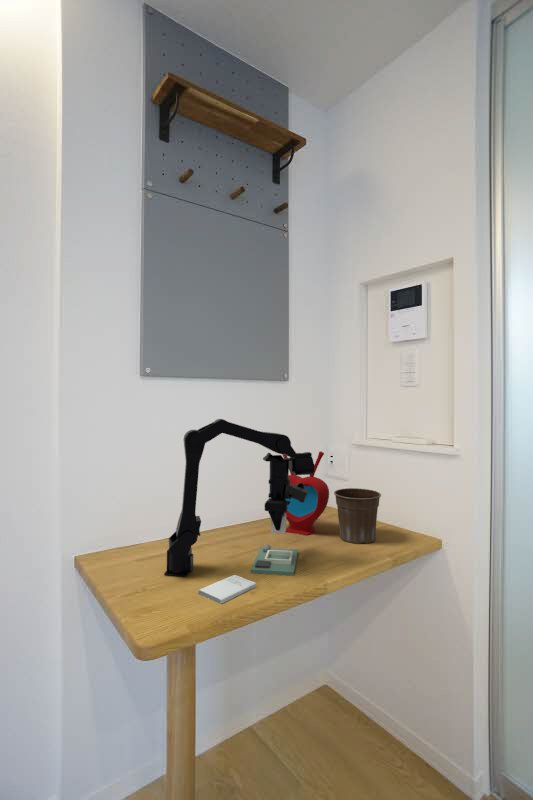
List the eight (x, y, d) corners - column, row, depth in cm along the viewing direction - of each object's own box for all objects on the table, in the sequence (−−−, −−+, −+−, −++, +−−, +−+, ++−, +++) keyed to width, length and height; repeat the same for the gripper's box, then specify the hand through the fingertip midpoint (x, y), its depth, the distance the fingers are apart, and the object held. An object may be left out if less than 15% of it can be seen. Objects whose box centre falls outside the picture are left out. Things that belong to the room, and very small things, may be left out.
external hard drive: (198, 595, 102) (233, 579, 112) (220, 606, 97) (256, 588, 106) (198, 589, 102) (233, 573, 112) (220, 599, 97) (256, 582, 106)
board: (250, 573, 115) (250, 563, 115) (260, 550, 133) (260, 542, 133) (293, 575, 113) (293, 566, 113) (297, 552, 131) (297, 544, 131)
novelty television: (269, 530, 154) (269, 450, 154) (283, 522, 165) (284, 447, 166) (321, 539, 144) (321, 453, 145) (333, 529, 156) (333, 450, 156)
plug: (271, 533, 121) (271, 514, 121) (273, 529, 125) (273, 510, 125) (284, 533, 121) (285, 514, 121) (286, 529, 125) (286, 511, 125)
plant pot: (373, 549, 134) (373, 500, 134) (327, 541, 142) (327, 494, 142) (386, 536, 148) (386, 491, 148) (343, 529, 156) (343, 486, 156)
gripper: (304, 482, 113) (304, 539, 113) (307, 471, 131) (307, 520, 131) (264, 481, 114) (264, 537, 114) (272, 470, 133) (272, 519, 133)
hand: (278, 528), depth 123 cm, fingers closed on plug, 4 cm apart
